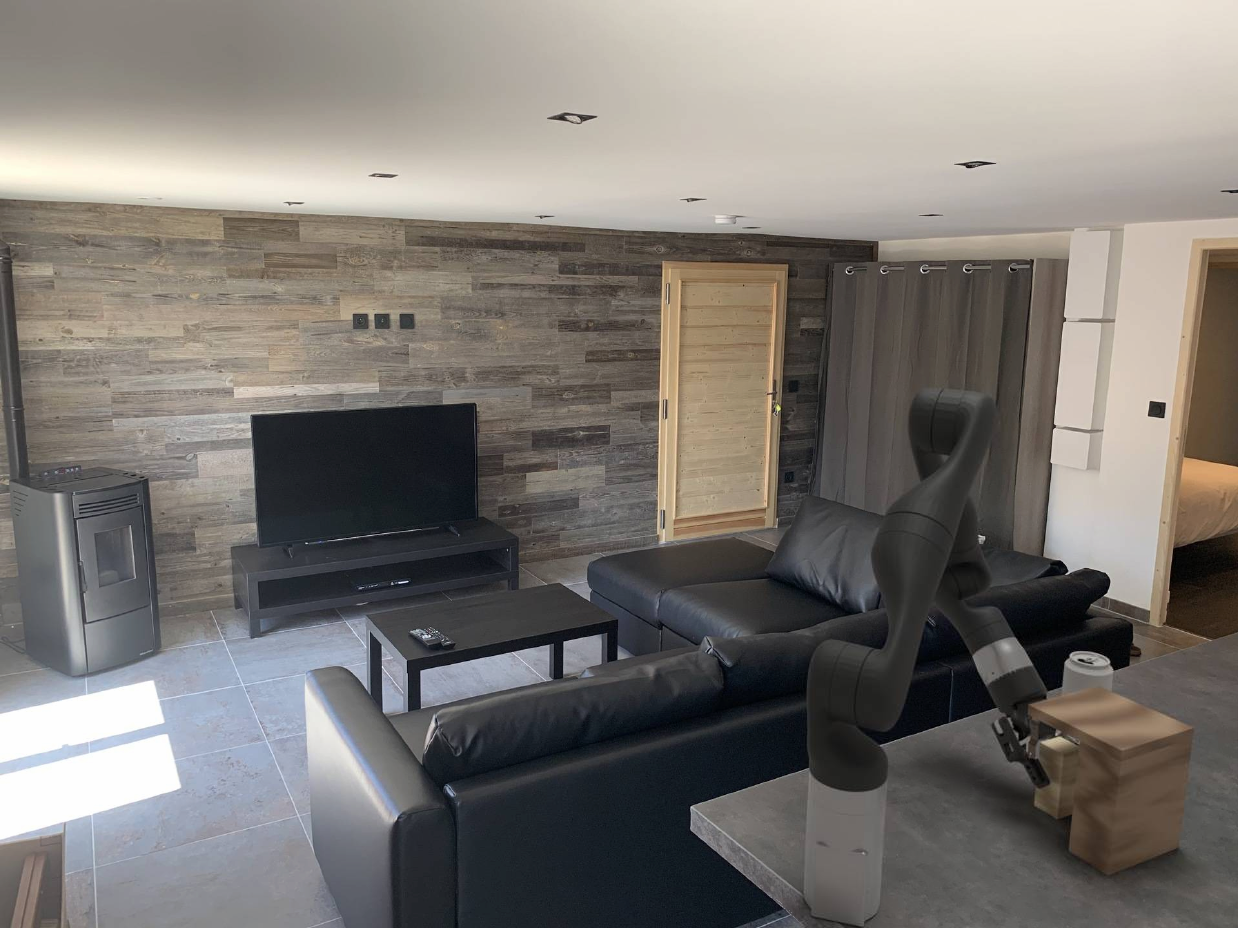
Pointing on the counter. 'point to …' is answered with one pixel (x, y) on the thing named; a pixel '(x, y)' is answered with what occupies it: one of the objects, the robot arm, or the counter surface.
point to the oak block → (1058, 777)
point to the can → (1086, 672)
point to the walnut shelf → (1122, 776)
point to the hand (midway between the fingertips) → (1066, 779)
